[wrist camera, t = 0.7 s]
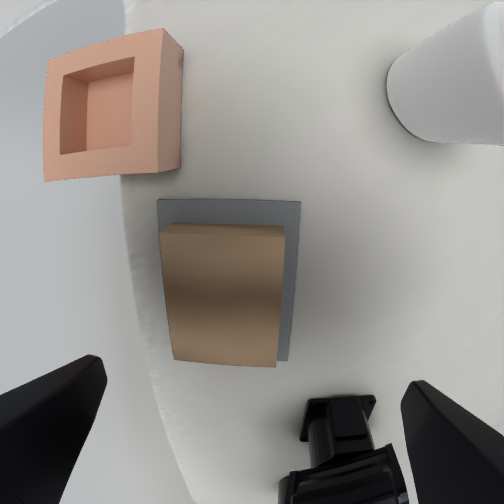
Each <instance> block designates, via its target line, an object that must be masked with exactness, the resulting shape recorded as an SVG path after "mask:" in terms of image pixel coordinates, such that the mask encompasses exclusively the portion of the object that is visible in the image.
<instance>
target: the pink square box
mask: <svg viewBox="0 0 504 504" xmlns="http://www.w3.org/2000/svg"><path fill="white" fill-rule="evenodd" d="M183 54H184V50H183V49H182V47H181V46H180V45H179V44H178V43H177V42H176V41H175V40H174V39H173V38H172V37H171V35H170V34H169V33H168V32H167V31H166V30H165V29H164V28H161V29H155V30H150V31H145V32H140V33H135V34H131V35H127V36H122V37H119V38H115V39H111V40H107V41H104V42H100V43H97V44H93V45H90V46H87V47H84V48H81V49H78V50H75V51H72V52H69V53H67V54H64V55H61V56H59V57H56V58H53V59H51V60H49V63H48V69H47V77H46V87H45V98H44V115H43V169H44V182H50V181H58V180H67V179H76V178H85V177H95V176H108V175H122V174H138V173H158V172H162V171H167V170H172V169H177V168H180V127H181V91H182V70H183Z"/></svg>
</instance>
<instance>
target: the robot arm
mask: <svg viewBox="0 0 504 504" xmlns="http://www.w3.org/2000/svg"><path fill="white" fill-rule="evenodd" d="M106 385H107V375H106V372H105V368H104V365H103V362H102V359H101V358H100V357H98V356H94V355H86V356H84V357H82V358H79V359H78V360H75V361H73V362H71V363H69V364H67V365H65V366H63V367H60V368H58V369H56V370H54V371H52V372H50V373H48V374H45V375H43V376H41V377H39V378H37V379H34V380H32V381H30V382H28V383H26V384H24V385H21V386H19V387H17V388H15V389H13V390H10V391H8V392H6V393H4V394H2V395H0V504H59V502H60V499H61V497H62V494H63V491H64V489H65V487H66V484H67V482H68V480H69V477H70V475H71V472H72V470H73V468H74V465H75V463H76V461H77V458H78V456H79V454H80V451H81V449H82V447H83V445H84V443H85V440H86V438H87V436H88V434H89V431H90V430H91V427H92V425H93V423H94V420H95V417H96V414H97V411H98V408H99V405H100V402H101V400H102V397H103V394H104V391H105V388H106ZM375 403H376V398H375V397H374V396H364V397H352V398H335V399H312V400H309V401H308V402H307V406H306V410H305V415H304V419H303V424H302V428H301V432H300V436H299V438H300V441H302V442H309V450H310V462H311V468H310V469H306V470H301V471H291V472H290V475H289V479H288V483H287V489H286V495H285V502H284V504H409V499H408V493H407V489H406V485H405V481H404V477H403V474H402V471H401V468H400V466H399V463H398V460H397V457H396V454H395V452H394V449H393V446H392V444H391V443H390V444H387V445H385V447H382V448H379V449H376V450H375V446H374V442H373V439H372V435H371V432H370V428H369V425H368V419H369V417H370V415H371V412H372V410H373V408H374V406H375ZM312 404H313V405H312ZM401 413H402V420H403V426H404V433H405V441H406V447H407V452H408V456H409V461H410V465H411V469H412V473H413V478H414V483H415V488H416V492H417V498H418V502H419V504H504V437H503V435H502V434H500V433H499V432H497V431H496V430H495V429H493V428H492V427H490V426H489V425H487V424H486V423H485V422H483V421H482V420H480V419H479V418H477V417H476V416H474V415H473V414H472V413H470V412H469V411H467V410H466V409H464V408H463V407H462V406H460V405H459V404H457V403H456V402H454V401H453V400H452V399H450V398H449V397H447V396H446V395H444V394H443V393H442V392H440V391H439V390H437V389H436V388H434V387H433V386H432V385H430V384H429V383H427V382H426V381H424V380H418V381H412V382H411V383H410V384H409V386H408V388H407V390H406V392H405V394H404V396H403V398H402V400H401Z"/></svg>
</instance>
